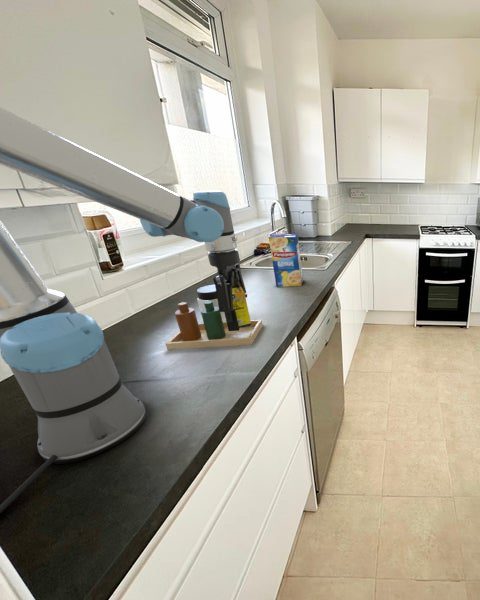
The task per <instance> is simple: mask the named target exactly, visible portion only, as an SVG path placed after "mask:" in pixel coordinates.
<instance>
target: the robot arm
mask: <svg viewBox="0 0 480 600" xmlns="http://www.w3.org/2000/svg"><path fill="white" fill-rule="evenodd" d="M0 165H1V166H3V167H6V168H8V169H11V170H13V171H16V172H18V173H22V174H23V175H26V176H29V177H31V178H34V179H36V180H39V181H42V182H44V183H47V184H50V185H52V186H54V187H57V188H60V189H62V190H65V191H67V192H69V193H72V194H75V195H78V196H80V197H82V198H85V199H88V200H91V201H93V202H95V203H98V204H101V205H102V206H106V207H109V208H111V209H113V210H116V211H119V212H121V213H124V214H126V215H129V216H131V217H134V218H136V219H139V222H140V224H141V227H142V229H143V230H144V231H145V233H146V234H147V235H148V236H150V237H153V238H156V237H167V236H177V237H180V238H185V239H189V240H193V241H195V242H197V243H204V246H205V250H206V251H208V252H207V257H208V262H209V265H210V266H212V267H215V268H216V269H217V276H213V277H212V280H213V285H215V287H216V293H217V299H218V305H219V311H220V312H224V313H225V317H226V322H227V326H228V330H229V331H239V325H238V321H237V316H236V312H235V309H233V296H232V288H239V287H242V289H243V290H244V292H245V297H246V298H248V294H247V290H246V286H245V282H244V278H243V275H242V270H241V265H240V262H241V259H240V253H239V250H238V249H237V247H238V244H237V241H238V237H236V234H235V230H234V224H233V219H232V214H231V207H230V205H229V204H230V203H229V199H228V197H227V194H226V193H225V192H224V191H222V190H197V191H194V192H193V194H192V195H193V198H192V199H188V198H186V197H183V196H182V195H179V194H178V193H176V192H174V191H172V190H169V189H168V188H166V187H163V186H162V185H160V184H157V183H155V182H154V181H152V180H150V179H148V178H145V177H144V176H141V175H139V174H137V173H135V172H133V171H132V170H131V171H130V170H129V169H127V168H125V167H123V166H121V165H119V164H116V162H115V163H114V162H113V161H111V160H108V159H107V158H104V157H102V156H101V155H98V154H96V153H94V152H92V151H91V150H88V149H86V148H84V147H82V146H81V145H78V144H76V143H74V142H72V141H70V140H68V139H65V138H63V137H62V136H60V135H59V134H58V135H57V134H55V133H53V132H51V131H49V130H47V128H43V127H41V126H40V125H38V124H35V123H33V122H31V121H29V120H28V119H26V118H23V117H22V116H19V115H17V114H15V113H14V112H11V111H9V110H7V109H5V108H3V107H1V106H0ZM0 356H1V359H2V360H3V361H4V363H5V364H6V365H8V367H9V368H10V370H11V372H12V374H13V376H14V378H15V379H16V381H17V383H18V385H19V386H20V388H21V390H22V392H23V393H24V395H25V397H26V399H27V400H28V402H29V404H30V406H31V408H32V410H33V411H34V413H35V415H36V417H37V435H38V438H37V443H36V445H37V446H36V447H37V451H38V453H39V455H40V457H41V458H42V459H43V461H44V463H42V464H41V466H39V467H38V468H37V469H36V470H34V472H33V473H32V474H31V475H30V476H29V477H28V478H26V479H25V481H23V483H21V484H20V485H19V486H18V487H17V488H16V489H15V490H14V492H12V493H11V494H10V495H9V496H8V497H7V498H6V499H5V500H4V501H3V502H2V503H1V504H0V514H2V512H3V511H5V509H7V508H8V507H9V506H10V505H11V504H12V503H13V502H14V501H15V500H16V499H17V498H18V497H19V496H20V495H21V494H22V493H24V491H25V490H26V489H27V488H28V487H29V486H30V485H31V484H32V483H33V482H34V481H35V480H36V479H37V478H39V476H40V475H41V474H43V472H44V471H46V470H47V468H48V467H50V466H51V465H52V464H53V465H55V464H56V465H63V464H72V463H76V462H81V461H85V460H88V459H91V458H93V457H95V456H98V455H100V454H102V453H105V452H107V451H108V450H110V449H113V448H114V447H116V446H118V445H119V444H122V443H123V442H124V441H126V440H127V439H129V438H130V437H131V436H133V434H135V433H136V432H137V431H138V430H139V429H140V427H141V426H142V425H143V424H144V422H145V420H146V419H147V409H146V408H145V404H144V403H143V402H142V400H141V399H139V398H138V397H137V396H134V394H133V393H132V392H131V391H130V390H129V389H128V388H127V387H126V385H124V384H123V382H122V380H121V377H120V375H119V372H118V369H117V367H116V365H115V362H114V359H113V358H112V355H111V353H110V350H109V348H108V345H107V343H106V341H105V335H104V332H103V329H102V328H101V327H100V326H99V324H98V322H97V321H96V320H95V319H94V318H93V317H92V316H90V315H87V314H84V313H81V312H78V311H77V310H76V308H75V307H74V306H73V304H72V303H71V301H70V299H69V298H68V297H67V295H66V294H65V293H64V292H63V291H62V290H61V291H60V290H58V289H57V290H56V289H53V288H50V287H48V286H47V284H46V283H45V282H44V280H43V278H42V277H41V276H40V275H39V273H38V271H37V270H36V269H35V267H34V266H33V264H32V263H31V262H30V260H29V258H28V257H27V256H26V254H25V253H24V252H23V250H22V249H21V248H20V246H19V244H18V243H17V242H16V240H15V239H14V237H13V236H12V235H11V233H10V232H9V230H8V228H7V227H6V226H5V224H4V223H3V221H2V220H1V219H0Z"/></svg>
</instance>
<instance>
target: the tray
mask: <svg viewBox="0 0 480 600" xmlns="http://www.w3.org/2000/svg"><path fill="white" fill-rule="evenodd" d="M250 321H251V326H247V327H242V328H239V331H229V330H228V326H227V322H223V325H224V329H225V334H226V336H225V337H224V338H222V339H215V340H209V339H208V337H207V333H206V330H205V326H204V323H203V322H198V325H199V329H200V332H201V338H200V339H198V340H196V341H183V339H182V336H181V332H180V330H179V331H178V332H177V333H175V334H174V335H173V336H172V337H171V338H170V339H169V340H167V342H166V343H165V347H166V350H167V351H174V350H176V351H177V350H190V349H205V348H206V349H207V348H219V347H220V348H222V347H236V346H251V345H252V344H253V343H254V341H255V339H256V337H257V336H258V334H259V333H260V331H261V329H262V328H263V326H264V324H263V320H262V319H250Z"/></svg>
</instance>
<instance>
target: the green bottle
mask: <svg viewBox="0 0 480 600" xmlns="http://www.w3.org/2000/svg"><path fill="white" fill-rule="evenodd" d="M204 305H205V309H203V310H201V313H200V315H201V314H202V316H201V319H202V318H203V320H202V323H203V322H204V326H205V330H206V333H207V337H208V339H209V340H215V339H222V338H224V337H225V336H226V334H225V329H224V325H223V321H222V317H221V313H220V311H219V307H214V305H213V301H207V302H204Z"/></svg>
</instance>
